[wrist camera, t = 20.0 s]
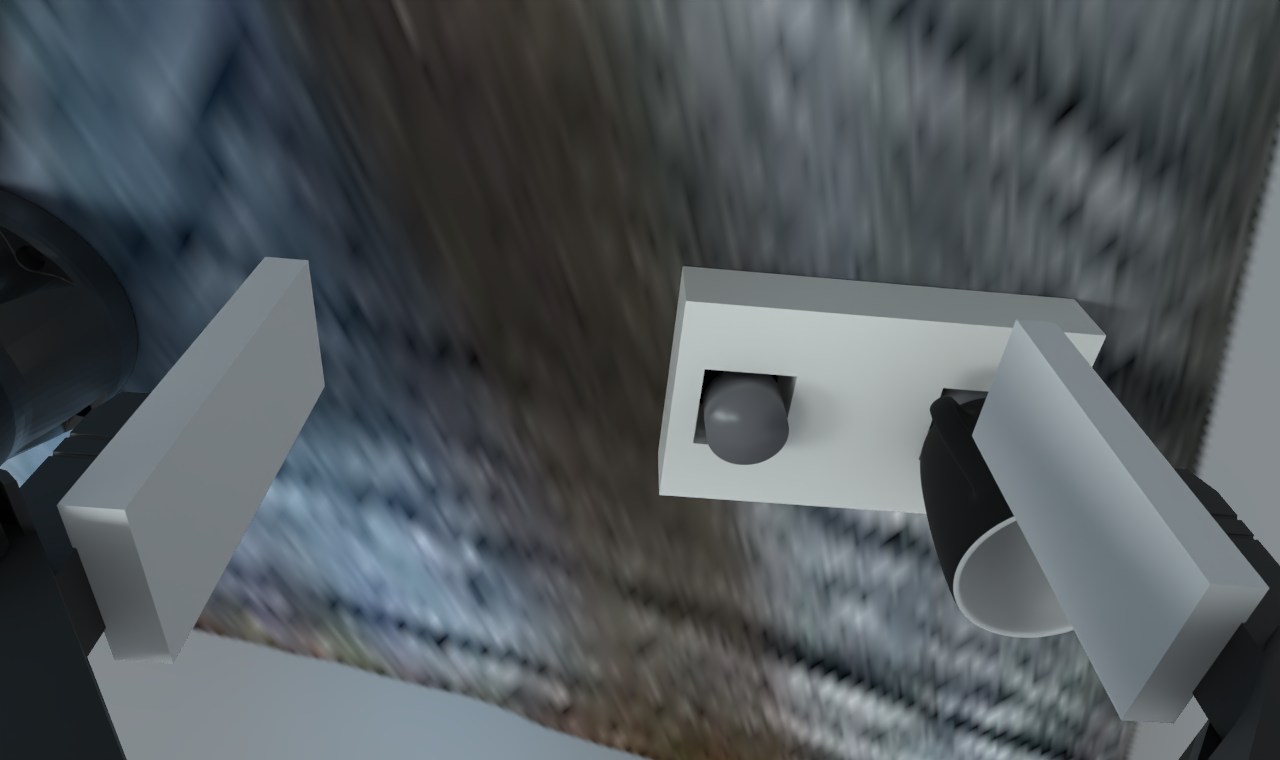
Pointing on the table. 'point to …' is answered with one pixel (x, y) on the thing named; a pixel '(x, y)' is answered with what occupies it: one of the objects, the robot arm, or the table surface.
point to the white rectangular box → (836, 379)
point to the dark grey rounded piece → (744, 417)
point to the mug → (981, 533)
